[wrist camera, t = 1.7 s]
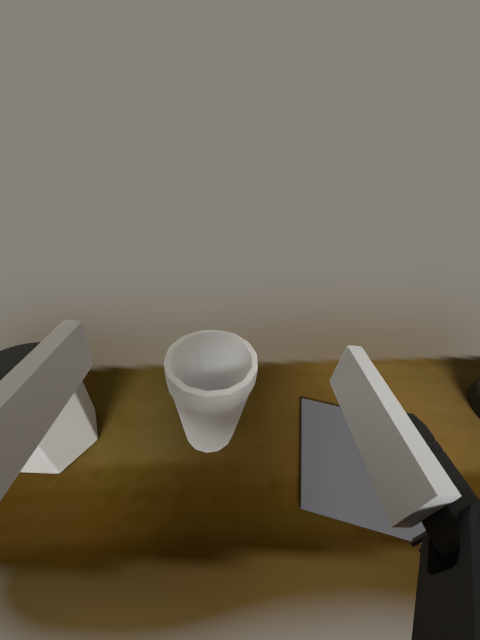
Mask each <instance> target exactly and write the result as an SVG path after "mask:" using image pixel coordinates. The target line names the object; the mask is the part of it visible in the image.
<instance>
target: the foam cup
mask: <svg viewBox="0 0 480 640" xmlns="http://www.w3.org/2000/svg"><path fill="white" fill-rule="evenodd" d="M163 362H164V370H165V377H166V381H167V385H168V389H169V393H170V395H172V396H173V399H174V402H175V405H176V407H177V410H178V413H179V416H180V419H181V422H182V425H183V428H184V431H185V434H186V437H187V440H188V442H189V443H190V444H191V445H192V446H193V447H194V448H195V449H196V450H199V451H202V452H205V453H209V452H215V451H219V450H220V449H222V448H223V447H225V446H226V445H228V443H229V441H230V439H231V437H232V436H233V433H234V431H235V429H236V426H237V424H238V421H239V419H240V416H241V413H242V411H243V408H244V406H245V403H246V401H247V398H248V396H249V394H250V392H251V390H252V389H253V387H254V385H255V381H256V376H257V371H258V363H257V353H256V352H255V351H254V349H253V348H252V346H251V345H250V344H249V342H248V341H246V340H244V339H243V338H241V337H239V336H238V335H236V334H234V333H230V332H226V331H221V330H218V329H216V330H199V331H195V332H193V333H190V334H188V335H185V336H182V337H181V338H179V339H178V340H177V341H176V342H175V343H173V344H172V345H171V346H170V347H169V349H168V351H167V354H166V356H165V359H164V361H163Z"/></svg>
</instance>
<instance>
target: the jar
mask: <svg viewBox="0 0 480 640" xmlns="http://www.w3.org/2000/svg"><path fill="white" fill-rule="evenodd" d="M39 343H41V342H36V343H27V344H22V345H17V346H14V347H10V348H7V349H5V350H2V351H0V380H2V379H3V378H4V377H5V376H6V375H7V374H8V373H9V372H10V371H11V370H12V369H13V368H14V367H15V366H16V365H17V364H18V363H19V362H20V361H22V360H23V359H24V358H25V357H26V356H27V355H28V354H29V353H30V352H31V351H32V350H33V349H34V348H35V347H36V346H37V345H38V344H39ZM97 440H98V433H97V423H96V413H95V408H94V406H93V404H92V402H91V399H90V397H89V395H88V393H87V390H86V388H85V386H84V384H83V381H82V382H81V383H80V385H79V386H78V388H77V389H76V391H75V392H74V394H73V395H72V397H71V398H70V400H69V401H68V402H67V404H66V405H65V407H64V408H63V410H62V411H61V413H60V414H59V416H58V417H57V419H56V420H55V421H54V423H53V424H52V426H51V427H50V429H49V430H48V432H47V433H46V435H45V436H44V438H43V439H42V440H41V442H40V443H39V445H38V446H37V448H36V449H35V451H34V452H33V454H32V455H31V457H30V458H29V459H28V461H27V462H26V464H25V465H24V467H23V468H22V470H21V471H20V472H28V473H52V474H59V473H61V472H62V471H63V470H64V469H65V468H66V467H67V466H68V465H70V464H71V463H72V462H73V461H74V460H75V459H76V458H77V457H79V456H80V455H81V454H82V453H83V452H84V451H85V450H87V449H88V448H89V447H90V446H91V445H92V444H93V443H94V442H96V441H97Z"/></svg>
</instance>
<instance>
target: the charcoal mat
mask: <svg viewBox="0 0 480 640" xmlns="http://www.w3.org/2000/svg"><path fill="white" fill-rule="evenodd" d="M300 509H303V510H307V511H310V512H313V513H317V514H320V515H324V516H327V517H330V518H334V519H337V520H341V521H344V522H347V523H351V524H354V525H358V526H361V527H364V528H368V529H371V530H375V531H378V532H381V533H385V534H388V535H392V536H395V537H398V538H402V539H405V540H409V541H412V539H413V538H414V537H416V536H418V535H420V534H421V533H423V532H425V531H426V530H425V528H424V526H423V524H422V522H420V523H418V524H417V525H415V526H414V527H412V528H395V527H391V525H390V523H389V521H388V518H387V516H386V514H385V511H384V509H383V507H382V504H381V502H380V499H379V497H378V495H377V492H376V490H375V488H374V485H373V483H372V481H371V478H370V476H369V474H368V471H367V469H366V466H365V464H364V462H363V459H362V457H361V455H360V452H359V450H358V448H357V445H356V443H355V441H354V438H353V436H352V433H351V431H350V429H349V426H348V424H347V422H346V419H345V417H344V415H343V412H342V410H341V408H340V407H339V406H334V405H330V404H326V403H322V402H317V401H313V400H309V399H305V398H302V399H301V452H300ZM420 544H421V543H420Z"/></svg>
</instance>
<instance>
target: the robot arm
mask: <svg viewBox="0 0 480 640" xmlns="http://www.w3.org/2000/svg"><path fill="white" fill-rule="evenodd" d="M93 364H94V361H93V358H92V355H91V351H90V348H89V344H88V341H87V338H86V335H85V331H84V328H83V324H82V321H72V320H64V321H63V322H62V323H61V324H60V325H59V326H57V327H56V328H55V329H54V330H53V331H52V332H51V333H50V334H49V335H48V336H47V337H46V338H45V339H44V340H43V341H42V342H41V343H39V344H38V345H37V346H36V347H35V348H34V349H33V350H32V351H31V352H30V353H29V354H28V355H27V356H26V357H25V358H24V359H23V360H22V361H20V362H19V363H18V364H17V365H16V366H15V367H14V368H13V369H12V370H11V371H10V372H9V373H8V374H7V375H6V376H5V377H4V378H3V379H2V380H0V500H1V499H2V497H3V496H4V494H5V493H6V492H7V490H8V489H9V487H10V486H11V484H12V483H13V481H14V480H15V478H16V477H17V476H18V474H19V473H20V471H21V470H22V468H23V467H24V465H25V464H26V462H27V461H28V459H29V458H30V457H31V455H32V454H33V452H34V451H35V449H36V448H37V446H38V445H39V443H40V442H41V440H42V439H43V438H44V436H45V435H46V433H47V432H48V430H49V429H50V427H51V426H52V424H53V423H54V421H55V420H56V419H57V417H58V416H59V414H60V413H61V411H62V410H63V408H64V407H65V405H66V404H67V402H68V401H69V400H70V398H71V397H72V395H73V394H74V392H75V391H76V389H77V388H78V386H79V385H80V383H81V382H82V381H83V379H84V378H85V376H86V375H87V373H88V372H89V370H90V369H91V367H92V366H93ZM329 382H330V384H331V386H332V389H333V391H334V393H335V396H336V398H337V400H338V403H339V405H340V408H341V410H342V412H343V415H344V417H345V419H346V422H347V424H348V426H349V429H350V431H351V433H352V436H353V438H354V441H355V443H356V445H357V448H358V450H359V452H360V455H361V457H362V459H363V462H364V464H365V466H366V469H367V471H368V474H369V476H370V478H371V481H372V483H373V485H374V488H375V490H376V492H377V495H378V497H379V499H380V502H381V504H382V507H383V509H384V511H385V514H386V516H387V518H388V521H389V523H390V525H391V527H395V528H412V527H414V526H415V525H417V524H418V523H420V522H422V524H423V526H424V528H425V530H426V531H425V532H423V533H421V534H420V535H418V536H416V537H414V538H413V539H412V541H411V543H410V544H411V545H412V546H413V547H414V546H416V545H418V544H420V543H421V549H419V551H420V552H421V553H420V564H419V574H418V582H417V592H416V603H415V613H414V622H413V632H412V640H480V500H479V499H478V497H477V496H476V495H475V494H474V492H473V491H472V490H471V488H470V487H469V485H468V484H467V483H466V481H465V480H464V478H463V477H462V476H461V474H460V473H459V471H458V470H457V469H456V467H455V466H454V464H453V463H452V462H451V460H450V459H449V457H448V456H447V455H446V453H445V452H443V449H442V448H441V446H440V445H439V443H438V442H437V441H435V438H434V436H433V435H432V434H431V432H430V431H429V429H428V428H427V427H426V425H425V424H424V423H423V422H421V421H420V420H419V419H418V418H417V417H416V416H415V415H414V414H409V413H406V412H405V411H404V409H403V408H402V406H401V405H400V403H399V402H398V400H397V399H396V397H395V396H394V394H393V393H392V392H391V390H390V389H389V387H388V386H387V384H386V383H385V381H384V380H383V378H382V377H381V375H380V374H379V372H378V371H377V369H376V368H375V366H374V365H373V363H372V362H371V360H370V359H369V357H368V356H367V354H366V353H365V351H364V350H363V348H362V347H361V346H351V345H347V347H346V349H345V351H344V353H343V355H342V357H341V359H340V361H339V363H338V365H337V367H336V369H335V371H334V373H333V375H332V377H331V379H330V381H329ZM468 398H469V401H470V403H471V405H472V407H473V408H474V410H475V411H476V413H477V414H478V415H479V416H480V378H479V379H478V380H477V381H476V382H475V383H474V384H473V385H472V386H471V387H470V388H469V390H468Z"/></svg>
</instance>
